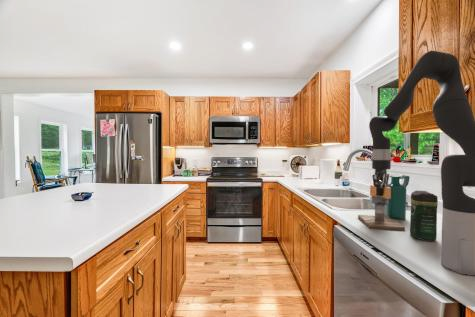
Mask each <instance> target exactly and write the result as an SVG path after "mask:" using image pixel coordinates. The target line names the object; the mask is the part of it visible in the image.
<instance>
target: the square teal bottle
mask: <svg viewBox="0 0 475 317" xmlns="http://www.w3.org/2000/svg"><path fill="white" fill-rule="evenodd" d="M389 178H391V180H390V181H391V182H389V183H388V185H387V186H386V187H390V188H391V198H390V199H389V204H388V205H385V216H387V217H390V218H391V219H393V220H405V219H406V218H407V217H406V216H407V215H406V213H407V187H408V186H409V183H410V176H409V175H405V174H403V175H389ZM400 180H403V183H402V184H401V183H400Z"/></svg>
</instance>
